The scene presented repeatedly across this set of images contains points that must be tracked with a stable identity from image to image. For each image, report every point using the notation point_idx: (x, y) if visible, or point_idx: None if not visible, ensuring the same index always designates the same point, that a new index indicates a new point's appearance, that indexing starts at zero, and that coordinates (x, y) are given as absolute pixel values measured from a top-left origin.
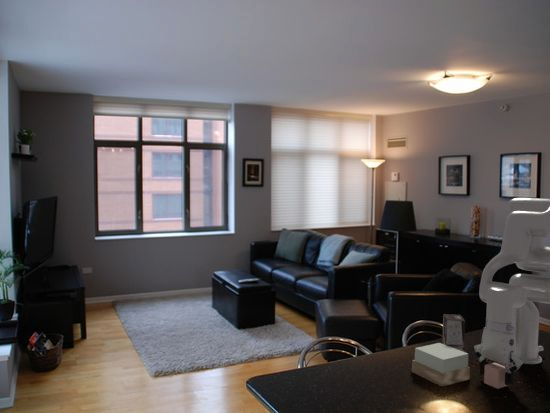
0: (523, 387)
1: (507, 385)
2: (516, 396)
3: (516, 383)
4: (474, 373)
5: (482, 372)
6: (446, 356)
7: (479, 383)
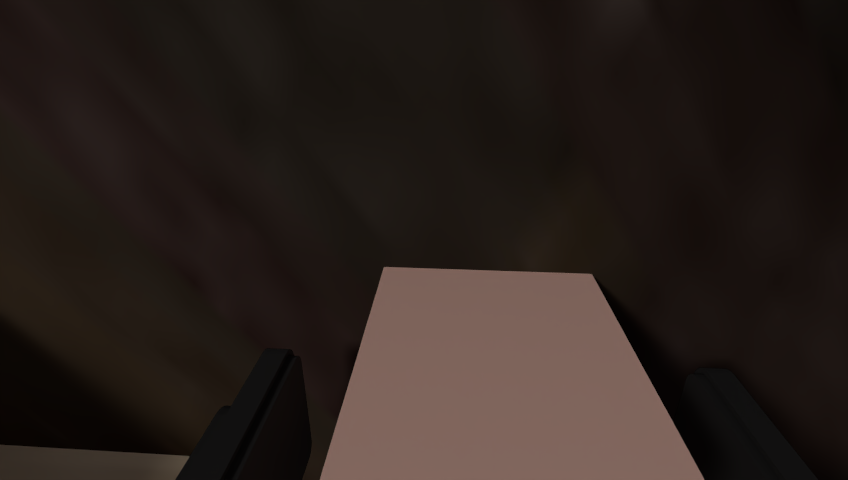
0: (771, 126)
1: (592, 281)
2: (798, 431)
3: (628, 83)
4: (133, 300)
5: (304, 469)
6: None
7: None
